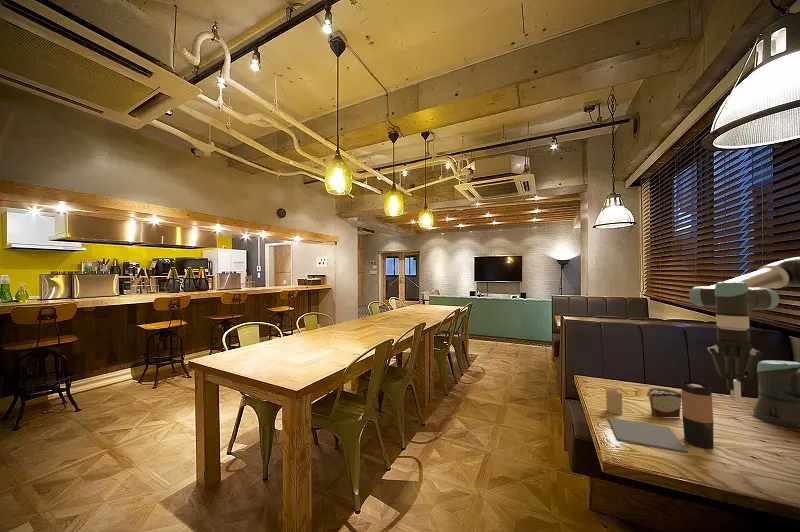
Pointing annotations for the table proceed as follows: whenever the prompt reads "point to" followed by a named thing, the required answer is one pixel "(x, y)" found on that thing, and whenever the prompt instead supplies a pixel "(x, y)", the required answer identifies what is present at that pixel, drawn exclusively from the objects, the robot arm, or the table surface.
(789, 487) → the table surface
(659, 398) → the food container
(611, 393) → the candle
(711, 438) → the travel mug
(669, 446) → the mat
